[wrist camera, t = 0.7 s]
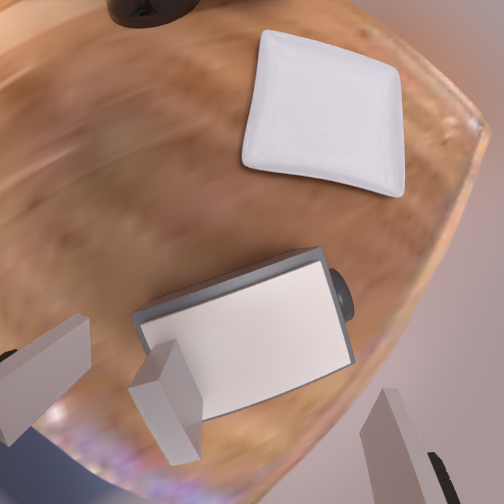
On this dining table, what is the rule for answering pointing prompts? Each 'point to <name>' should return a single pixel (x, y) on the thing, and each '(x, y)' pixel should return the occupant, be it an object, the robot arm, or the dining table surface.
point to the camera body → (245, 279)
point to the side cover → (235, 355)
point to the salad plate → (325, 115)
